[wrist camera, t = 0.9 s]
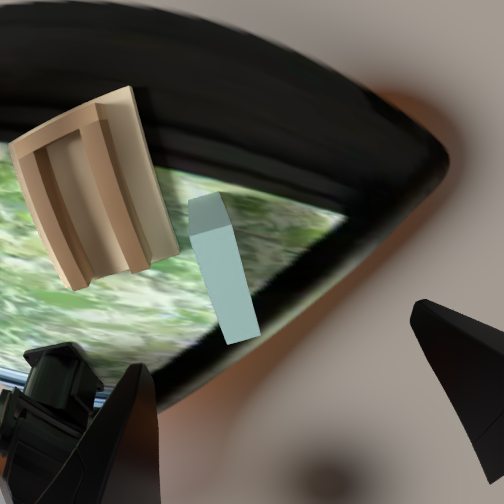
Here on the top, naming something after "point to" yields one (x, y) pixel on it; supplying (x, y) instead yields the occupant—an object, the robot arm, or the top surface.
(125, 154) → the track board
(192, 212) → the slider block
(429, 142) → the top surface
